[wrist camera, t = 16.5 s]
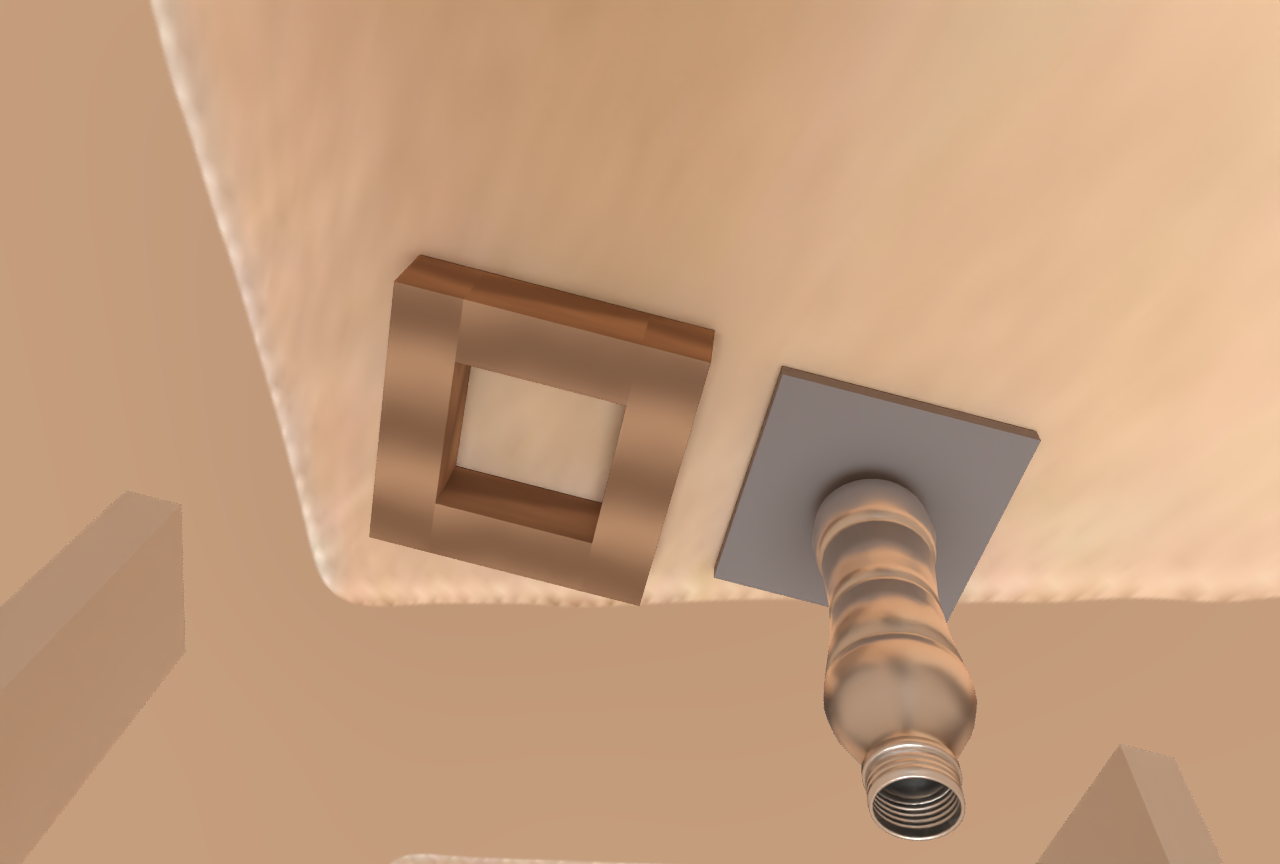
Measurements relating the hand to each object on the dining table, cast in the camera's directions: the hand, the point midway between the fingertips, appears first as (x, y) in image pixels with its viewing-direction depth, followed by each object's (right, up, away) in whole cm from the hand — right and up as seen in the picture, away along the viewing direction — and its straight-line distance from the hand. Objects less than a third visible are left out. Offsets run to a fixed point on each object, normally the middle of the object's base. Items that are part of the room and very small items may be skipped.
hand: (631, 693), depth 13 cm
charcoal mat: (+13, 0, +41) cm, 43 cm away
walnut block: (-5, +4, +41) cm, 41 cm away
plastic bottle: (+13, -1, +40) cm, 42 cm away
